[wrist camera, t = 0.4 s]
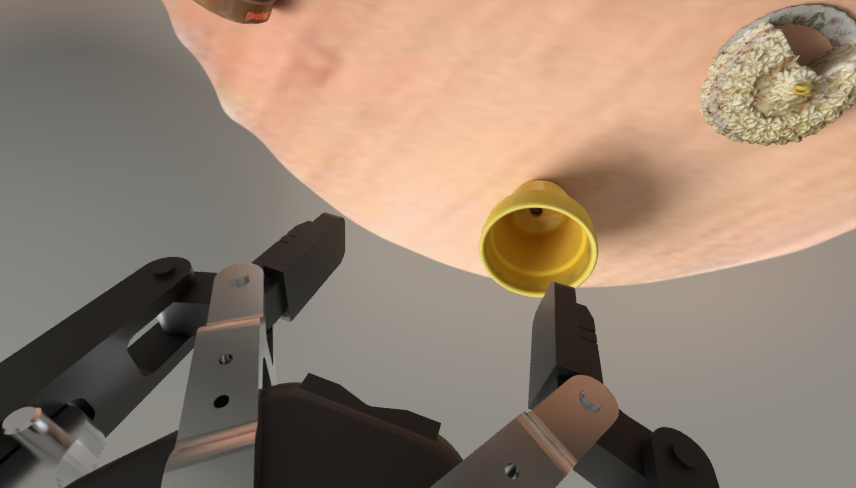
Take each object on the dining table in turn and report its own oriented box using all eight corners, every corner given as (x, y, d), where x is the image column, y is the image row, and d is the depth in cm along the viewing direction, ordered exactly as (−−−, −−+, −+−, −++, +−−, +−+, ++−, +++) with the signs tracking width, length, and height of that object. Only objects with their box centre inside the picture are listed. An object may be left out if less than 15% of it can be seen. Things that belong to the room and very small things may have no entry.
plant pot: (493, 245, 42) (482, 295, 35) (488, 166, 37) (473, 204, 29) (583, 246, 39) (593, 302, 31) (591, 160, 34) (605, 201, 26)
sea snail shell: (798, 146, 29) (837, 172, 25) (671, 131, 32) (688, 153, 28) (901, 7, 23) (973, 12, 19) (734, 0, 25) (767, 4, 21)
